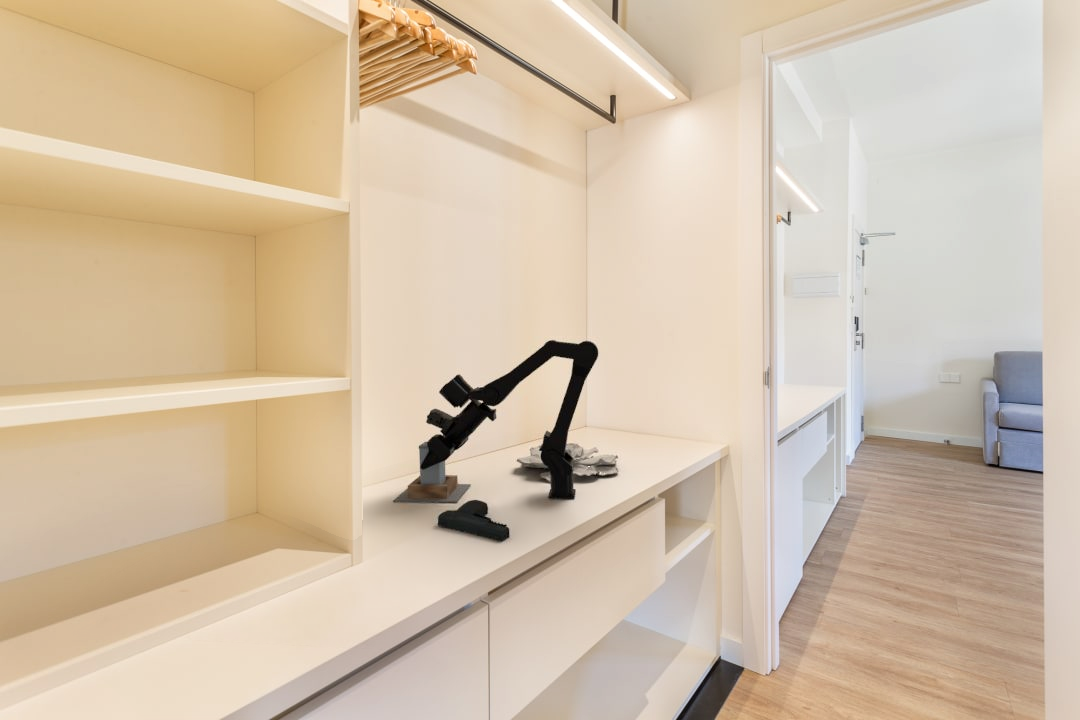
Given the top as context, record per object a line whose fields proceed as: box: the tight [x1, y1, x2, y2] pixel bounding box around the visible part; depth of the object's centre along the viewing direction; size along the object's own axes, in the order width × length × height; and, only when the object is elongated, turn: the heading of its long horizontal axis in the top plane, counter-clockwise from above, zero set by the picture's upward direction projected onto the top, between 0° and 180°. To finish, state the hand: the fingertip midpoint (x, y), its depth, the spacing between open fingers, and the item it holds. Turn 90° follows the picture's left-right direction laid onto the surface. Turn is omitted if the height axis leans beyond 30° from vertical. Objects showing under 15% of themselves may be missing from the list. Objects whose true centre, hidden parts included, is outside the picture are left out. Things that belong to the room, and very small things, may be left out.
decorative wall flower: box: [516, 443, 619, 483], centre depth 155 cm, size 30×7×30 cm
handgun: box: [437, 499, 510, 543], centre depth 111 cm, size 3×18×12 cm
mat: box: [392, 483, 472, 504], centre depth 134 cm, size 16×14×1 cm
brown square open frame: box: [407, 474, 459, 498], centre depth 133 cm, size 10×10×3 cm
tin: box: [418, 441, 446, 484], centre depth 133 cm, size 5×5×12 cm
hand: (427, 463), depth 133 cm, fingers open, 9 cm apart
